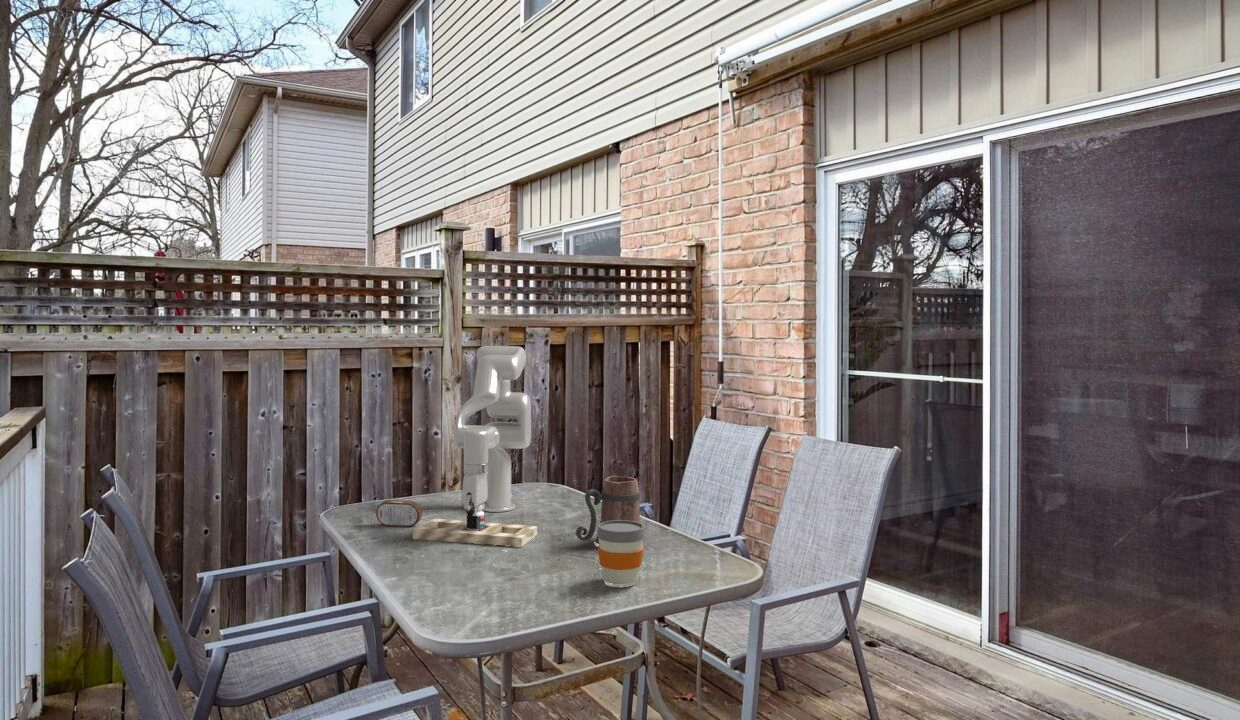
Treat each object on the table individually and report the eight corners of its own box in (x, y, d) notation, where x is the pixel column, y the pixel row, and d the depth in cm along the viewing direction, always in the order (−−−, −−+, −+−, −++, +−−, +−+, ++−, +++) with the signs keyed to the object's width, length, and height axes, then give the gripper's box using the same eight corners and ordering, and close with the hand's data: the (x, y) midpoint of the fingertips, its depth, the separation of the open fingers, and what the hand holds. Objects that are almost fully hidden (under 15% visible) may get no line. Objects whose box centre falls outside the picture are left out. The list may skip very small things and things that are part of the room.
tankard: (629, 533, 255) (629, 472, 254) (657, 546, 240) (659, 481, 239) (564, 542, 243) (565, 478, 242) (590, 556, 228) (591, 488, 227)
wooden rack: (412, 538, 245) (412, 529, 245) (433, 527, 258) (433, 518, 258) (521, 547, 237) (521, 537, 236) (537, 535, 250) (537, 526, 250)
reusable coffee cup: (607, 592, 198) (608, 534, 197) (589, 577, 209) (590, 522, 208) (652, 586, 203) (653, 529, 202) (632, 572, 214) (633, 518, 214)
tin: (422, 525, 261) (422, 500, 261) (419, 528, 258) (419, 502, 258) (378, 523, 263) (378, 498, 262) (374, 526, 259) (374, 501, 259)
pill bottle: (482, 535, 245) (482, 507, 244) (465, 535, 245) (465, 506, 245) (485, 530, 250) (486, 503, 250) (469, 530, 250) (469, 502, 250)
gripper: (476, 463, 256) (475, 518, 257) (453, 472, 239) (452, 531, 240) (497, 464, 254) (497, 519, 255) (476, 474, 237) (475, 533, 238)
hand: (475, 525), depth 248 cm, fingers closed on pill bottle, 5 cm apart
